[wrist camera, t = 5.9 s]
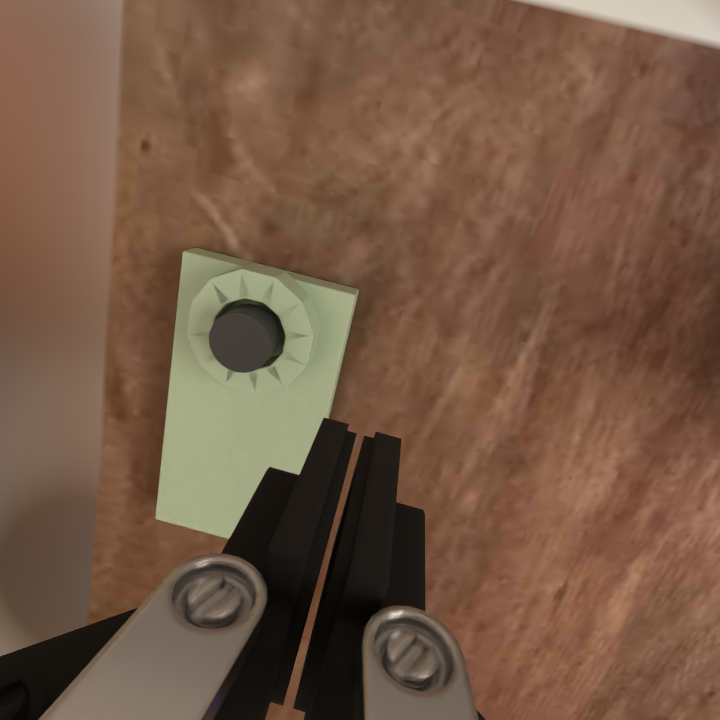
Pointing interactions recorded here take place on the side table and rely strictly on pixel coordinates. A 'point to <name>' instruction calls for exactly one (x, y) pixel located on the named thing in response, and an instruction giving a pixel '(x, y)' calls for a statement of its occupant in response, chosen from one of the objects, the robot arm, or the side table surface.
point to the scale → (245, 387)
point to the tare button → (244, 338)
